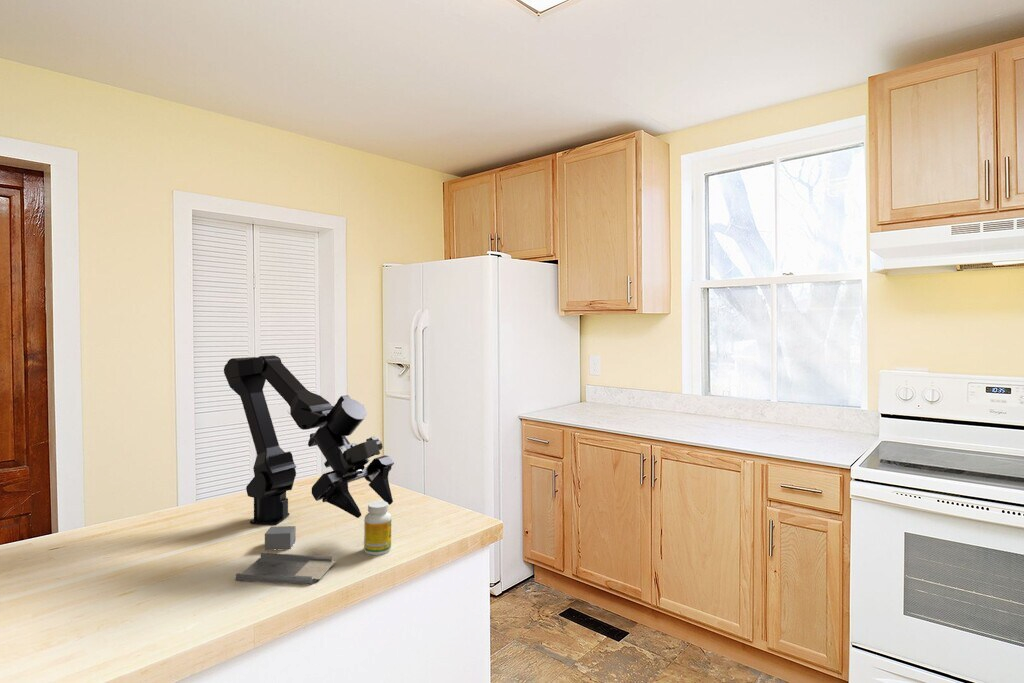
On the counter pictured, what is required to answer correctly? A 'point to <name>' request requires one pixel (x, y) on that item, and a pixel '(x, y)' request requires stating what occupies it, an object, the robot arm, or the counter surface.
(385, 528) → the supplement bottle
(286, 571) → the grey flat tray
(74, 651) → the counter surface
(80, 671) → the counter surface
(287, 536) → the block
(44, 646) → the counter surface
